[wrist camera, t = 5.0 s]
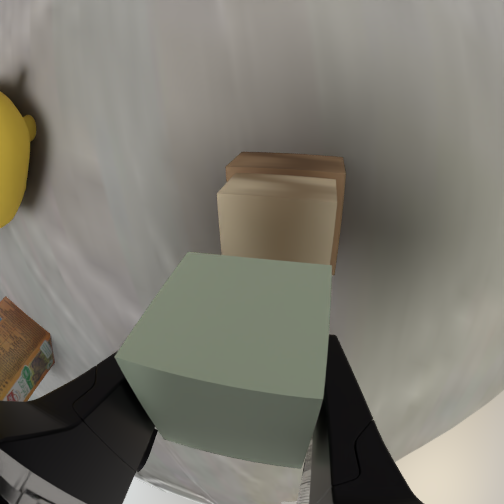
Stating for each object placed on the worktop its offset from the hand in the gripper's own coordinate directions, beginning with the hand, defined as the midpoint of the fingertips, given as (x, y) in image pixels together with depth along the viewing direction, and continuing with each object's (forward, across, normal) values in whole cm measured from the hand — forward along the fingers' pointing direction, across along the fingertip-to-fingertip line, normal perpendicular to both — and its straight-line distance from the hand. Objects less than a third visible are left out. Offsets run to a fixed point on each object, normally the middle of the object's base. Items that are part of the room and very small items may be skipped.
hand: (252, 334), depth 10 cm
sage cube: (+1, 0, 0) cm, 1 cm away
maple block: (+8, 0, 0) cm, 8 cm away
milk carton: (+12, +42, +24) cm, 50 cm away
